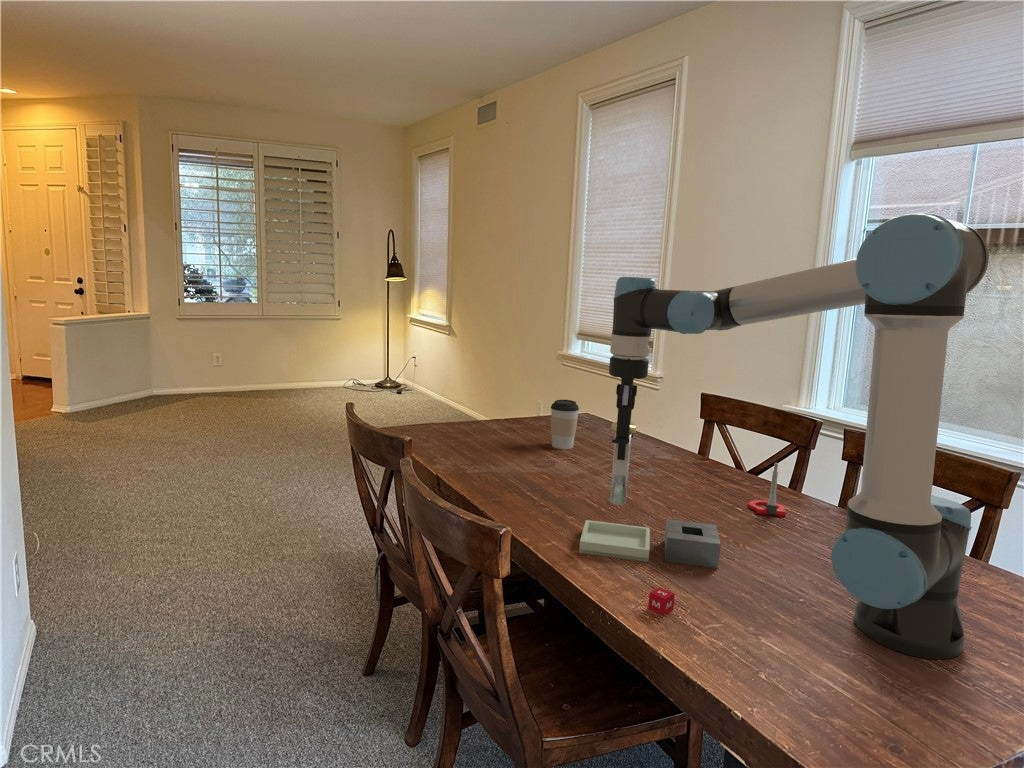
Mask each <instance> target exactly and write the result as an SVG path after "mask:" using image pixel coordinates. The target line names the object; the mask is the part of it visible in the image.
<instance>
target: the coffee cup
mask: <svg viewBox="0 0 1024 768" xmlns="http://www.w3.org/2000/svg"><path fill="white" fill-rule="evenodd" d="M550 410H551V411H550V412H551V414H550V427H551V430H550V432H551V446H552V447H553V448H555V449H558V450H570V449H573V448H574V443H575V437H576V436H575V435H576V430H577V425H578V418H579V416H578V415H579V410H580V407H579V405H578V404H577V401H575V400H571V399H556V400H555V401H554V402H553V403H552V404H551V406H550Z"/></svg>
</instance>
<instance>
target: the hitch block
mask: <svg viewBox="0 0 1024 768" xmlns="http://www.w3.org/2000/svg"><path fill="white" fill-rule="evenodd" d="M664 531H665V532H664V542H663V543H664V545H663V546H664V562H666V563H674V564H681V565H689V566H697V567H703V568H711V569H719V562H720V553H721V552H720V551H721V544H722V543H721V540H720V536H719V532H718V528H717V525H716V524H712V523H704V522H703V523H702V522H694V521H685V520H678V519H668V518H666V520H665V530H664Z"/></svg>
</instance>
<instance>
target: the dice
mask: <svg viewBox="0 0 1024 768" xmlns="http://www.w3.org/2000/svg"><path fill="white" fill-rule="evenodd" d="M675 597H676V596H675V592H673V591H671V590H670V591H669V590H667V589H665V588H663V587H660V586H659V587H657V588H655V589H653V590H651V591H649V596H648V606H647V607H648V608H647V609H648V610H651V611H653V612H655V613H656V614H659V615H661V616H665V615H667V614H668V613H670V612H672V611H673V610H674V605H675Z"/></svg>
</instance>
